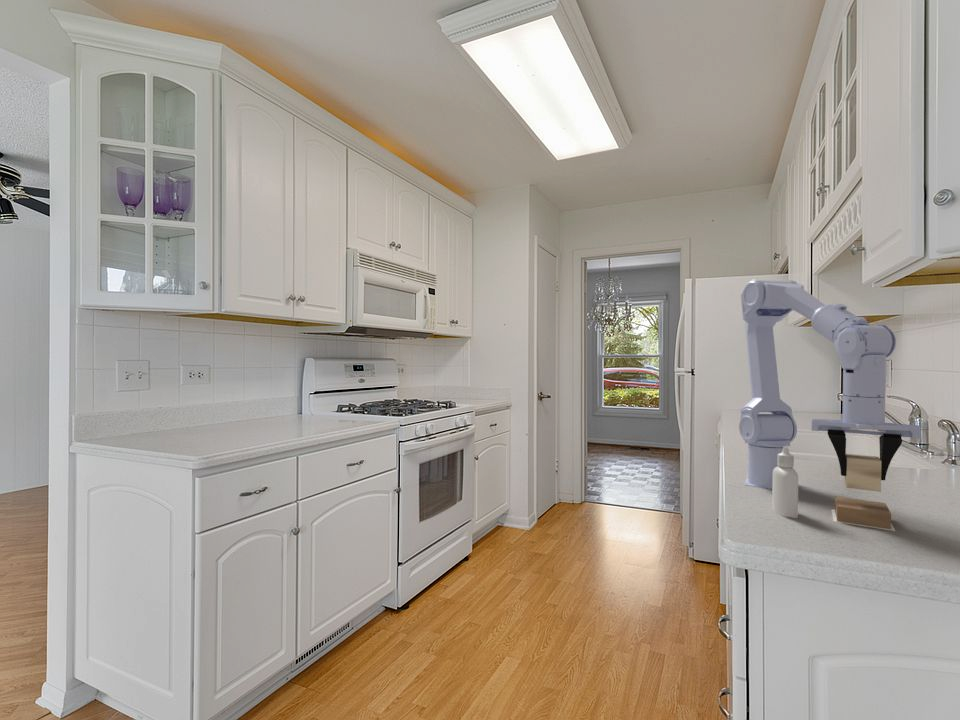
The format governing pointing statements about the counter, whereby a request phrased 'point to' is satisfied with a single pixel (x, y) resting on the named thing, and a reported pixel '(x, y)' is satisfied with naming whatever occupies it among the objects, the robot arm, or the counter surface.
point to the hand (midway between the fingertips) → (862, 476)
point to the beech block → (863, 472)
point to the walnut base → (862, 512)
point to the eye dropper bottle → (785, 486)
